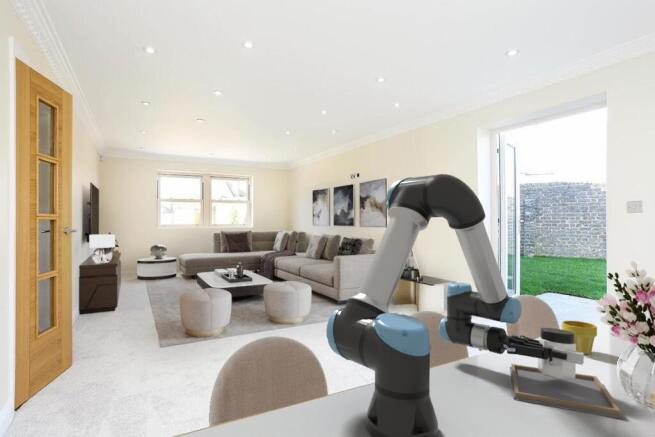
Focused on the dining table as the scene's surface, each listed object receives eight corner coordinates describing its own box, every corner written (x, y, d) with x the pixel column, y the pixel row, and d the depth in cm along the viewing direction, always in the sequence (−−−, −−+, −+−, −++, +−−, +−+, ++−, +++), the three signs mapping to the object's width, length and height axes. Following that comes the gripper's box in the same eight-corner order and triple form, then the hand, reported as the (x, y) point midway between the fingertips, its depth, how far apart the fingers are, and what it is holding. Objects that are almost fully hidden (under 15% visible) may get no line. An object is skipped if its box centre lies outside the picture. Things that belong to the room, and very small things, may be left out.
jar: (534, 372, 101) (535, 329, 102) (542, 367, 107) (543, 326, 108) (572, 382, 95) (572, 336, 96) (578, 376, 101) (579, 332, 102)
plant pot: (554, 347, 133) (554, 321, 133) (576, 345, 136) (576, 319, 136) (582, 357, 123) (582, 328, 123) (604, 355, 126) (604, 326, 126)
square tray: (513, 399, 92) (513, 392, 92) (509, 368, 113) (509, 363, 113) (623, 419, 83) (623, 412, 83) (597, 381, 103) (597, 376, 103)
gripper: (497, 345, 115) (588, 366, 99) (481, 356, 106) (577, 381, 89) (497, 322, 116) (587, 338, 99) (481, 330, 106) (577, 350, 89)
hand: (582, 358), depth 94 cm, fingers closed on jar
